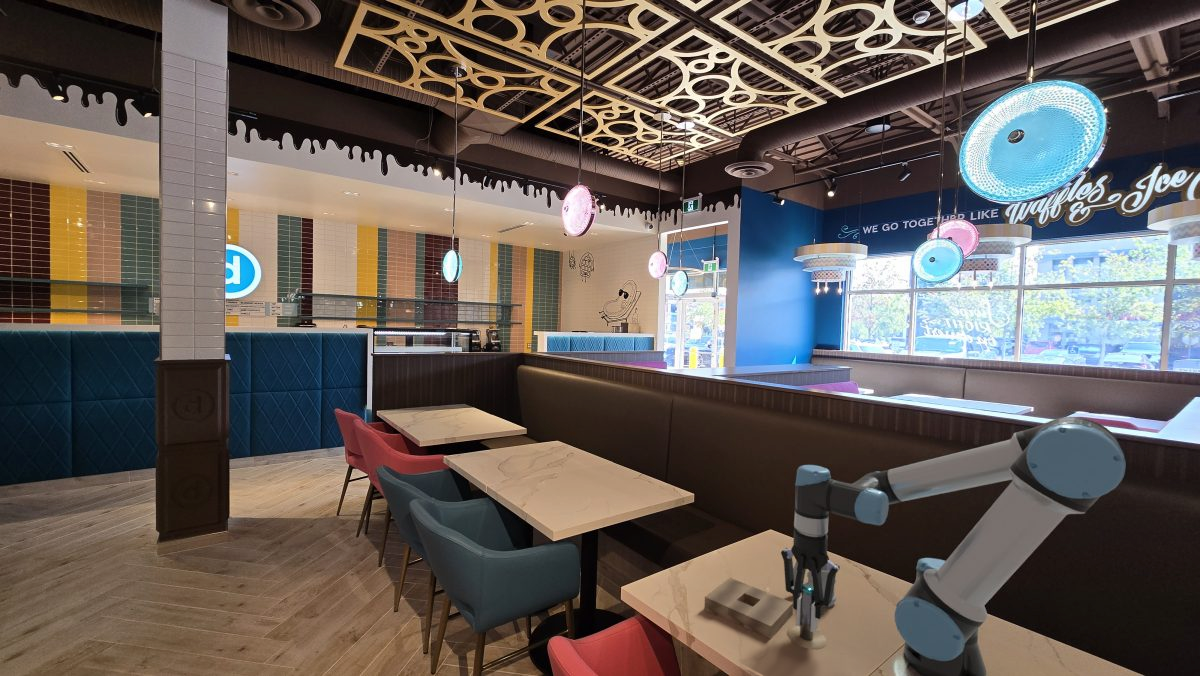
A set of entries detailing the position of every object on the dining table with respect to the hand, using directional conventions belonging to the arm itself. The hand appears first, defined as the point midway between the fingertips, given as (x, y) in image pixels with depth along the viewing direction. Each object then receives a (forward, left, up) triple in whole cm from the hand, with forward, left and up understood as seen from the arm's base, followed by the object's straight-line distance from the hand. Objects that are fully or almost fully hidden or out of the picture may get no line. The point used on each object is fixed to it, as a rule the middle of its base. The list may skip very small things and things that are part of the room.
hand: (806, 626), depth 119 cm
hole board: (+15, 0, -3) cm, 15 cm away
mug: (+5, -19, -3) cm, 20 cm away
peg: (0, 0, -3) cm, 3 cm away
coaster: (0, 0, -3) cm, 3 cm away
